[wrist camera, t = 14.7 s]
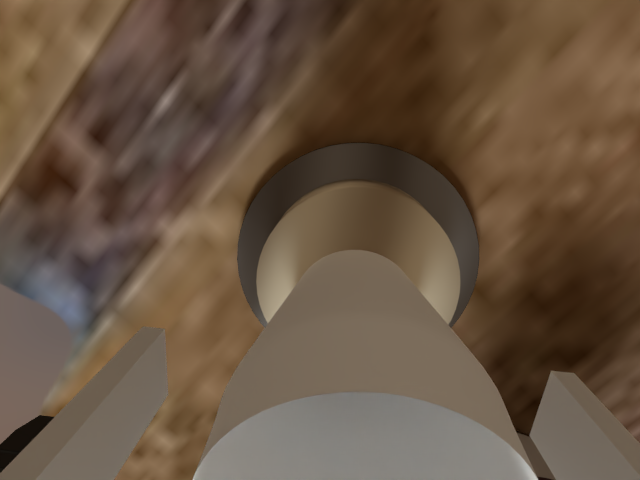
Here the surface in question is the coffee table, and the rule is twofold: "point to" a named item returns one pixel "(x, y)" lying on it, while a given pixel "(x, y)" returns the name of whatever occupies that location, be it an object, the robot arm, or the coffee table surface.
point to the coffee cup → (536, 458)
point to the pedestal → (359, 225)
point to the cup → (361, 389)
